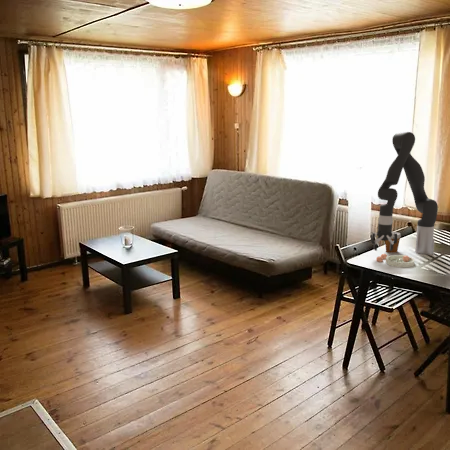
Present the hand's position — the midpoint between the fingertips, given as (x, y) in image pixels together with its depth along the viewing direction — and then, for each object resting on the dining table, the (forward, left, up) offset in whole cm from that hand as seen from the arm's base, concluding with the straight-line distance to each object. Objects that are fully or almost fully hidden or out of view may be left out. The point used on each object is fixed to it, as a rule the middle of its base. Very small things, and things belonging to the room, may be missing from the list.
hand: (383, 250), depth 269 cm
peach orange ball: (+3, +5, -6) cm, 8 cm away
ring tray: (-7, +9, -6) cm, 13 cm away
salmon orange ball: (-10, +8, -5) cm, 14 cm away
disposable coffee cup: (-10, -14, -6) cm, 18 cm away
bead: (-1, 0, -6) cm, 6 cm away
